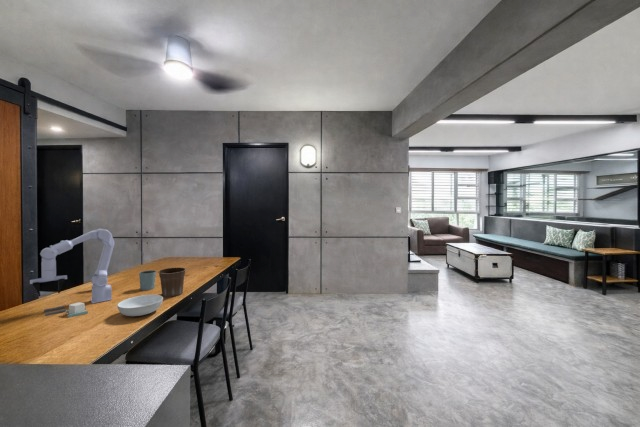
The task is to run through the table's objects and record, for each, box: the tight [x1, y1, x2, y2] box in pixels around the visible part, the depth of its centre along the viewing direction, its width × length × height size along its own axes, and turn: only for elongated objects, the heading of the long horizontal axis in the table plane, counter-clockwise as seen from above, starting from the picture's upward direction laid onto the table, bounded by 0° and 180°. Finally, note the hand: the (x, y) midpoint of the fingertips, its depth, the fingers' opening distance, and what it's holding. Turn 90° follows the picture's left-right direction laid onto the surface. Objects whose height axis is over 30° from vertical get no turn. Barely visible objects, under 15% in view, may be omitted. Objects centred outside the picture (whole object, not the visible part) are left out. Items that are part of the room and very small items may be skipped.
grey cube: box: [68, 301, 86, 315], centre depth 149 cm, size 4×5×5 cm
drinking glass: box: [138, 269, 157, 291], centre depth 194 cm, size 10×10×12 cm
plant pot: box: [157, 267, 187, 298], centre depth 182 cm, size 16×16×16 cm
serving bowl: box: [117, 294, 164, 317], centre depth 150 cm, size 21×21×7 cm
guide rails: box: [43, 305, 89, 318], centre depth 150 cm, size 16×20×1 cm
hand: (49, 294), depth 151 cm, fingers open, 7 cm apart
